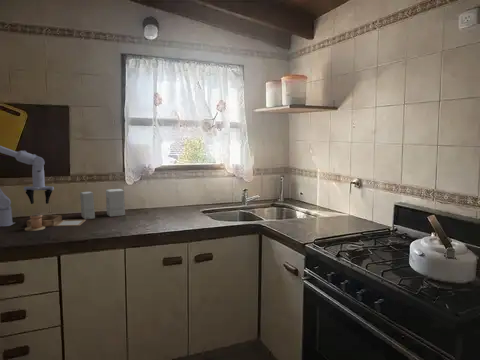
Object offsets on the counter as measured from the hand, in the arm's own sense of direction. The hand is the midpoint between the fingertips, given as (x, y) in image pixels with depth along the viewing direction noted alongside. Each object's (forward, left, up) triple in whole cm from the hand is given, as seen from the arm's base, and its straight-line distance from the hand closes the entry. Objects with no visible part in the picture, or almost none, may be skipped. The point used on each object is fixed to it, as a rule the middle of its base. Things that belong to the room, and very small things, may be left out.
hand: (39, 203), depth 212 cm
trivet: (+4, -19, -10) cm, 22 cm away
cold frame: (+5, -8, -10) cm, 14 cm away
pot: (+5, -18, -9) cm, 21 cm away
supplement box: (+37, +15, -10) cm, 41 cm away
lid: (+18, -8, -10) cm, 22 cm away
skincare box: (+23, +7, -10) cm, 26 cm away
